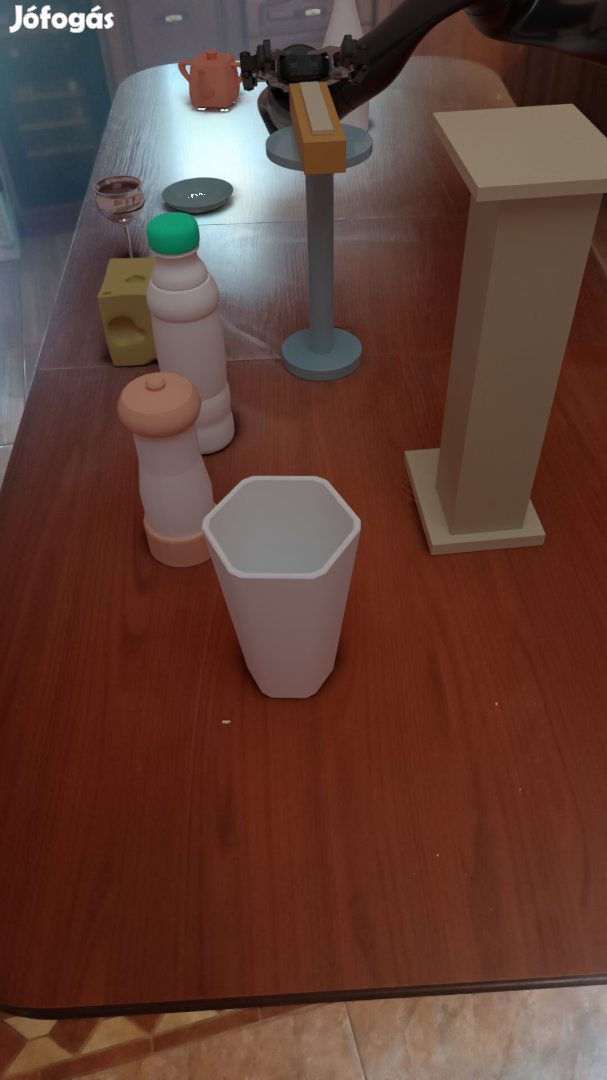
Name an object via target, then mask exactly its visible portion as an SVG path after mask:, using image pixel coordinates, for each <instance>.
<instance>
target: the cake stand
mask: <svg viewBox="0 0 607 1080" xmlns="http://www.w3.org/2000/svg"><path fill="white" fill-rule="evenodd" d="M340 124H341V126H342V129H343V132H344V135H345V138H346V169H349V168H352V167H355V166H358V165H360V164H362V163H364V162H365V161H367V160H368V159H370V157H371V155H372V153H373V147H374V146H373V145H374V140H373V137H372V136H371V134H370V133H369V132H368V131H367V132H366V131H365V130H363V129H361V128H358V127H355V126H352V125H348V124H342V123H340ZM265 140H266V141H265V155H266V157H267V159H268V160H269V161H270V162H271V163H273V164H275V165H276V166H278V167H282V168H284V169H288V170H292V171H298V172H303V167H302V163H301V159H300V154H299V150H298V146H297V141H296V137H295V133H294V128H293V125H292V126H288V127H285V128H282V129H280V130H278V131H276V132H274V133H272V134H271V135H268V136H267V138H266V139H265ZM334 176H335V173H332V174H316V175H304V178H305V179H304V182H305V184H304V185H305V215H306V216H305V218H306V220H305V221H306V222H305V224H306V225H305V226H306V254H307V255H306V257H307V264H306V265H307V292H308V293H307V299H308V304H307V305H308V327H307V328H304V329H300V330H297V331H296V332H293V333H292V334H290V335H289V336H288V337H286V339H285V340H284V341H283V342H282V345H281V362H282V365H283V367H284V368H285V369H286V371H287V372H289V373H290V374H291V375H293V376H295V377H296V378H300V379H302V380H307V381H312V382H328V381H335V380H339V379H342V378H345V377H347V376H349V375H351V374H352V373H354V372H355V371H357V369H358V368H360V365H361V363H362V357H363V354H362V353H363V345H362V343H361V340H359V338H358V337H356V335H354V334H353V333H352V332H350V331H348V330H345V329H342V328H338V327H335V325H334V324H335V322H334V321H335V318H334V317H335V316H334V315H335V311H334V310H335V308H334V307H335V294H334V293H335V290H334V289H335V287H334V286H335V281H334V279H335V275H334V271H335V270H334V269H335V262H334V261H335V258H334V257H335V256H334V255H335V254H334V253H335V250H334V249H335V246H334V245H335V243H334V242H335V240H334V238H335V233H334V232H335V231H334V230H335V228H334V227H335V223H334V222H335V217H334V215H335V214H334V213H335V209H334V207H335V205H334V204H335V202H334V201H335V199H334V198H335V197H334V196H335V195H334V194H335V192H334V190H335V189H334V188H335V187H334V186H335V185H334V184H335V183H334V182H335V177H334Z"/></svg>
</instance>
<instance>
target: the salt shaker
mask: <svg viewBox="0 0 607 1080" xmlns="http://www.w3.org/2000/svg"><path fill="white" fill-rule="evenodd" d="M201 403H202V400H201V398H200V395H199V393H198V391H197V389H196V387H195V386H194V385H193V384H192V383H191V382H189V381H188V380H187V379H186V378H185V377H183V376H180V375H178V374H175V373H169V372H160V371H157V372H151V373H146V374H144V375H141V376H138V377H136V378H134V379H133V380H131V381H129V383H127V385H126V386H125V387H124V388H123V390H122V391H121V393H120V395H119V397H118V401H117V409H116V410H117V415H118V419H119V420H120V421H121V423H122V424H123V425H124V427H126V429H127V430H128V431H129V432H130V433H132V437H133V441H134V446H135V449H136V455H137V460H138V483H139V484H138V485H139V486H138V487H139V488H138V489H139V496H140V500H141V504H142V507H143V511H144V514H143V520H142V523H143V527H144V530H145V535H146V540H147V543H148V548H149V552H150V554H151V555H152V556H153V557H154V559H155V560H156V561H158V562H159V563H161V564H163V565H165V566H168V567H173V568H189V567H194V566H198V565H200V564H203V563H204V562H206V561H208V560H210V559H211V556H210V553H209V550H208V547H207V544H206V541H205V538H204V535H203V532H202V529H201V527H202V522H203V518H204V517H205V516H206V515H207V514H208V513H209V512H210V511H211V510H212V509H213V508H214V507H216V506H217V505H218V504H217V503H216V502H215V501H214V495H213V493H214V491H213V485H212V481H211V478H210V476H209V475H210V474H209V473H208V470H207V467H206V465H205V462H204V459H203V456H202V455H201V453H200V448H199V442H198V436H197V430H196V424H195V421H196V420H197V418H198V416H199V413H200V409H201Z"/></svg>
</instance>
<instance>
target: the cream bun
mask: <svg viewBox="0 0 607 1080" xmlns="http://www.w3.org/2000/svg"><path fill="white" fill-rule="evenodd" d="M289 99H290V115H291V120H292V124H293V128H294V133H295V137H296V141H297V146H298V150H299V154H300V159H301V163H302V167H303V171H302V172H303V175H304V176H305V175H316V174H332V173H334V174H343V173H347V168H346V138H345V135H344V132H343V129H342V126H341V124H340V121H339V118H338V115H337V112H336V109H335V106H334V103H333V101H332V98H331V95H330V92H329V89H328V86H327V83H326V82H318V81H317V82H300V83H295V84H289Z"/></svg>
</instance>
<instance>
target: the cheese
mask: <svg viewBox="0 0 607 1080" xmlns="http://www.w3.org/2000/svg"><path fill="white" fill-rule="evenodd" d="M155 262H156V256H152V257H151V256H150V257H149V256H148V257H133V258H130V257H127V258H126V257H124V258H123V257H122V258H121V257H120V258H118V257H115V258H113V257H112V258H109V261H108V263H107V266H106V270H105V271H106V272H105V275H104V279H103V282H102V285H101V287H100V289H99V292H98V293H97V297H96V298H97V304H98V312H99V315H100V316H99V317H100V319H101V324H102V327H103V333H104V336H105V337H104V338H105V342H106V346H107V349H108V352H109V356H110V359H111V362H112V364H113V367H131V366H132V367H133V366H145V365H148V364H151V362H153V361H158V359H157V354H156V348H155V343H154V336H153V329H152V320H151V312H150V310H149V308H148V305H147V301H146V291H147V287H148V284H149V281H150V278H151V273H152V269H153V266H154V264H155Z"/></svg>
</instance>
